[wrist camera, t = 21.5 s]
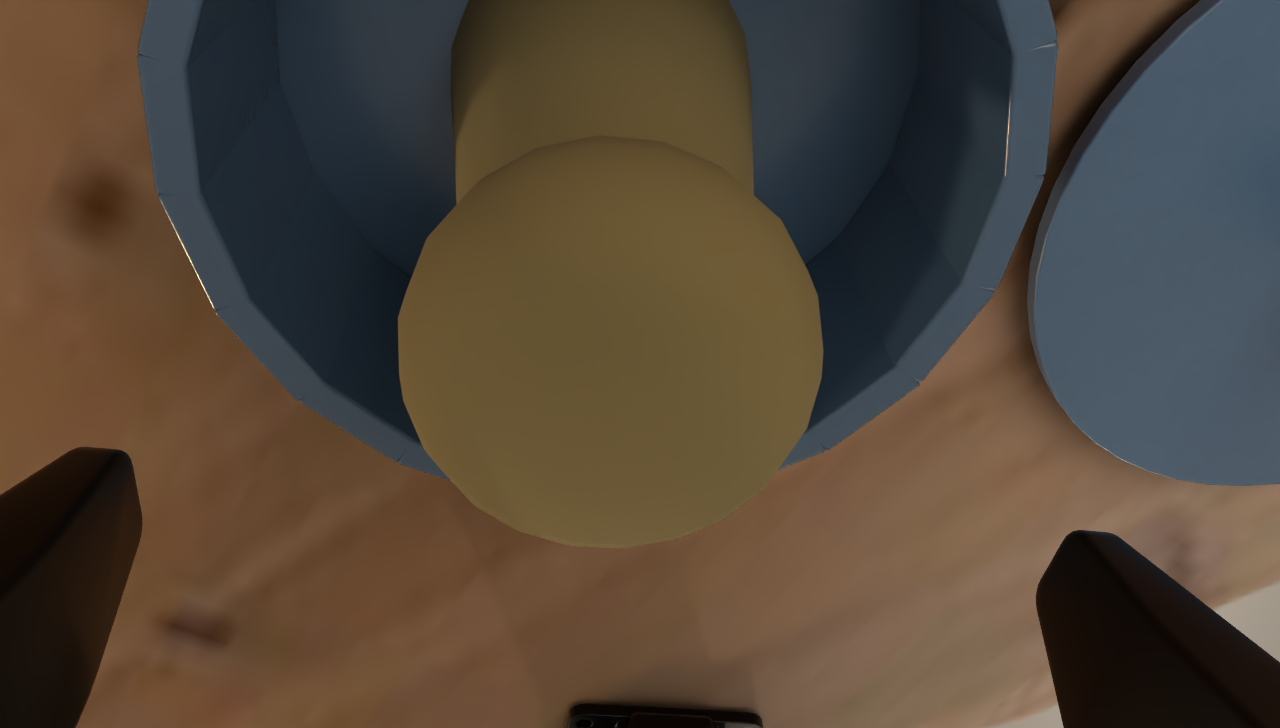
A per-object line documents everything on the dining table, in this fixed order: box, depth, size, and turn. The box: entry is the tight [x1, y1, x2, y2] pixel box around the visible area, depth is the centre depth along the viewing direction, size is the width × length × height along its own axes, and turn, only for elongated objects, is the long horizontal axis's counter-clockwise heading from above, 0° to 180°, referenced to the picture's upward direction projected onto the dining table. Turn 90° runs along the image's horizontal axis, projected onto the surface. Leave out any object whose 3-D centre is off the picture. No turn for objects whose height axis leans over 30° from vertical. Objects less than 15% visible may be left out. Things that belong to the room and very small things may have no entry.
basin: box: [137, 0, 1058, 481], centre depth 18 cm, size 14×14×5 cm
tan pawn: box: [398, 0, 823, 549], centre depth 15 cm, size 6×6×11 cm
